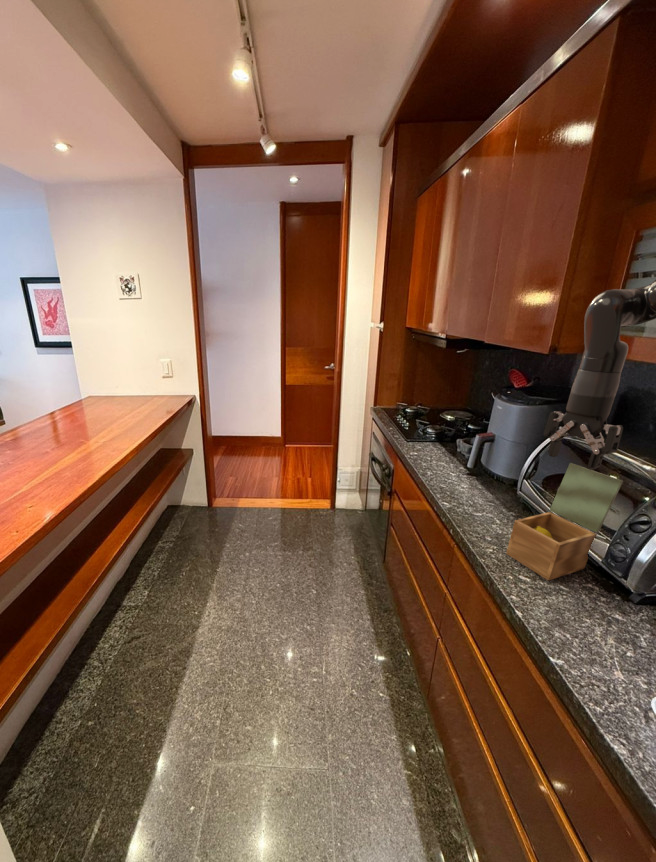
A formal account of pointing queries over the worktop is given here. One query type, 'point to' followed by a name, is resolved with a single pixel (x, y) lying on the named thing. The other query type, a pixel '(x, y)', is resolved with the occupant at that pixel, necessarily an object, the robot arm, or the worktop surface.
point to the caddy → (550, 545)
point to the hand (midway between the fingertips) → (571, 462)
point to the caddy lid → (585, 496)
